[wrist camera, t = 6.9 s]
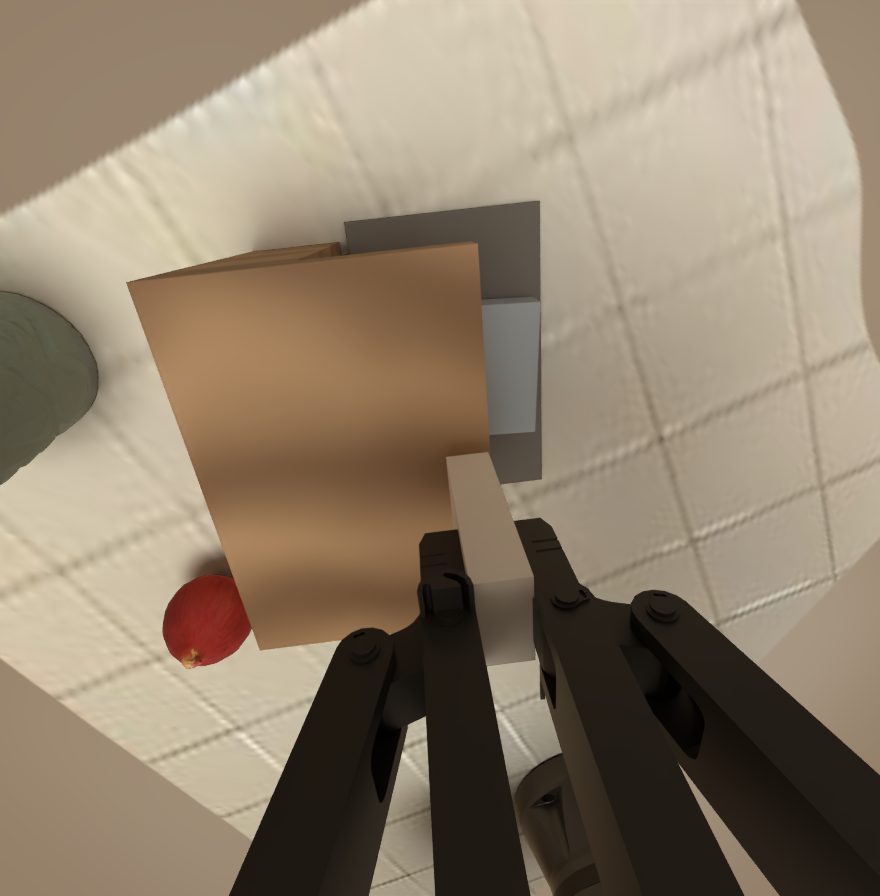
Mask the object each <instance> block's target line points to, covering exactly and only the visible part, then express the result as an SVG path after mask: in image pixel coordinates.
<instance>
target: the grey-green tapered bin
mask: <svg viewBox="0 0 880 896" xmlns="http://www.w3.org/2000/svg"><path fill="white" fill-rule="evenodd" d="M97 389H98V372H97V365H96V361H95V359H94V357H93V355H92V353H91V351H90V349H89V347H88V345H87V344H86V342H85V341H84V340H83V336H82V335H81V334H80V333H79V332H78V331H77V330H75V329H74V328H73V327H72V325H71V323H69V322H67V321H66V320H65V319H64V318H63V317H62V316H61V315H59V314H57V313H56V312H55V311H53V310H51V309H49V308H48V307H46V306H45V305H43V304H41V303H38V302H35V301H33V300H32V299H30V298H27V297H23V296H22V295H17V294H14V293H8V292H1V291H0V485H1V484H3V483H4V482H6V481H7V480H9V479H10V478H11V477H12V476H13V475H14V474H15V473H16V472H17V471H18V469H19V468H20V467H23V466H26V465H27V464H28V463H30V462H31V461H32V460H33V459H34V458H35V457H36V455H38V454H39V453H40V452H42V451H44V450H45V449H46V448H47V447H48V446H49V445H50V444H51V443H52V442H53V440H54V439H55V436H57V435H59V434H61V433H63V432H65V431H66V430H67V429H69V428H70V427H71V426H72V425H73V424H74V423H76V422H77V421H78V420H79V419H80V418H81V417H83V416H84V414H85V413H86V412H87V411H88V410H89V408H90V407H91V405H92V403H93V401H94V399H95V397H96V394H97Z"/></svg>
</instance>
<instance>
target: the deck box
mask: <svg viewBox="0 0 880 896" xmlns="http://www.w3.org/2000/svg"><path fill="white" fill-rule="evenodd" d="M540 304H541V302H540V301H538V300H537V299H535V298H534V297H516V298H499V299H483V300H481V305H482V322H483V339H484V356H485V373H486V390H487V407H488V424H489V435H497V434H511V433H524V432H535V423H536V400H537V376H538V352H539V328H540Z"/></svg>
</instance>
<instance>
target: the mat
mask: <svg viewBox="0 0 880 896" xmlns="http://www.w3.org/2000/svg"><path fill="white" fill-rule="evenodd" d="M344 225H345V231H346V237H347V243H348V249H349V255H352V254H361V253H370V252H379V251H388V250H397V249H406V248H415V247H424V246H433V245H442V244H451V243H460V242H469V241H472V242H475V243H478V254H479V271H480V288H481V300H483V299H499V298H516V297H534V298H535V299H537V300H538V301H540V201H533V202H524V203H515V204H506V205H497V206H488V207H478V208H469V209H460V210H451V211H442V212H433V213H423V214H414V215H405V216H396V217H387V218H378V219H368V220H359V221H350V222H344ZM489 441H490V458H491V461H492V464H493V466H494V469H495V472H496V475H497V477H498V480H499V483H500V484H507V483H515V482H523V481H531V480H539V479H542V452H541V312H540V328H539V352H538V376H537V400H536V423H535V432H524V433H511V434H497V435H489Z"/></svg>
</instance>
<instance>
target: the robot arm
mask: <svg viewBox="0 0 880 896" xmlns="http://www.w3.org/2000/svg"><path fill="white" fill-rule="evenodd" d="M446 462H447V471H448V481H449V490H450V500H451V510H452V519H453V526H454V530H447V531H438V532H430V533H425V534H424V536H423V538H422V540H421V541H420V543H419V557H420V576H421V582H420V583H419V585H418V589H417V596H418V603H419V609H420V614H419V616H418V617H417V618H416V620H415V621H414V622H413V623H411V624H410V625H409V626H408V627H406V628H404V629H402V630H400V631H398V632H395V633H393V634H390V635H389V634H388V633H386V632H385V631H384V630H382V629H378V628H373V627H371V628H361V629H359V630H356V631H354V632H351V633H350V634H349V635H347V636H346V637H345V638H344V639H342V641H341V642H340V644H339V645H338V647H337V648H336V650H335V653H334V655H333V657H332V659H331V662H330V664H329V666H328V669H327V671H326V673H325V676H324V678H323V680H322V683H321V685H320V687H319V689H318V692H317V694H316V696H315V699H314V701H313V703H312V706H311V708H310V710H309V712H308V715H307V717H306V719H305V722H304V724H303V726H302V729H301V731H300V733H299V735H298V738H297V740H296V742H295V745H294V747H293V749H292V752H291V754H290V756H289V758H288V761H287V763H286V765H285V768H284V770H283V772H282V775H281V777H280V779H279V782H278V784H277V786H276V788H275V791H274V793H273V795H272V798H271V800H270V802H269V805H268V807H267V809H266V811H265V814H264V816H263V818H262V821H261V823H260V825H259V828H258V830H257V832H256V834H255V837H254V839H253V841H252V844H251V846H250V848H249V851H248V853H247V855H246V857H245V860H244V862H243V864H242V867H241V869H240V871H239V874H238V876H237V878H236V881H235V883H234V885H233V888H232V890H231V892H230V894H229V896H369V892H370V888H371V883H372V879H373V875H374V870H375V866H376V862H377V858H378V853H379V849H380V845H381V840H382V836H383V832H384V828H385V823H386V819H387V815H388V810H389V806H390V802H391V798H392V793H393V789H394V785H395V780H396V776H397V772H398V767H399V763H400V759H401V755H402V750H403V746H404V742H405V737H406V733H407V729H408V724H410V723H412V722H415V721H417V720H419V719H421V718H423V717H425V716H426V725H427V745H428V764H429V783H430V802H431V821H432V841H433V860H434V879H435V896H530V890H529V885H528V880H527V875H526V870H525V864H524V859H523V854H522V849H521V844H520V838H519V833H518V828H517V823H516V817H515V812H514V807H513V802H512V797H511V791H510V786H509V781H508V776H507V771H506V765H505V760H504V755H503V750H502V744H501V739H500V734H499V729H498V724H497V718H496V713H495V708H494V703H493V698H492V692H491V687H490V682H489V677H488V672H487V666H491V665H499V664H507V663H515V662H522V661H530V660H535V648H536V652H537V655H538V658H539V661H540V698H541V700H542V699H545V696H546V699H547V703H548V706H549V709H550V713H551V716H552V720H553V723H554V726H555V730H556V733H557V736H558V740H559V743H560V747H561V750H562V753H563V755H560V756H558V757H555V758H553V759H551V760H549V761H547V762H545V763H544V764H542V765H540V766H539V767H537V768H536V769H535V770H533V771H532V772H531V773H530V774H529V775H528V776H527V777H526V778H525V779H524V780H523V782H522V783H521V785H520V786H519V788H518V791H517V794H516V807H517V812H518V817H519V822H520V826H521V829H522V832H523V834H524V836H525V838H526V840H527V842H528V844H529V846H530V848H531V850H532V852H533V854H534V856H535V858H536V860H537V862H538V864H539V866H540V868H541V870H542V872H543V874H544V876H545V878H546V880H547V882H548V884H549V886H550V888H551V891H552V894H553V896H744V894H743V892H742V890H741V888H740V886H739V884H738V882H737V880H736V878H735V876H734V874H733V872H732V870H731V868H730V866H729V864H728V862H727V860H726V858H725V856H724V854H723V852H722V850H721V848H720V846H719V844H718V842H717V840H716V838H715V836H714V834H713V832H712V830H711V828H710V826H709V824H708V822H707V820H706V818H705V816H704V814H703V812H702V810H701V808H700V806H699V804H698V802H697V800H696V798H695V796H694V794H693V792H692V790H691V788H690V786H689V784H688V782H687V780H686V779H685V776H684V774H683V772H682V770H681V768H680V766H681V767H682V768H683V769H684V771H685V772H686V773H687V775H688V776H689V777H690V778H691V780H692V781H693V783H694V784H695V785H696V787H697V788H698V789H699V791H700V792H701V793H702V795H703V796H704V797H705V798H706V800H707V801H708V802H709V804H710V805H711V806H712V808H713V809H714V810H715V811H716V813H717V814H718V815H719V817H720V818H721V819H722V821H723V822H724V823H725V825H726V826H727V827H728V829H729V830H730V831H731V832H732V834H733V835H734V836H735V838H736V839H737V840H738V842H739V843H740V844H741V846H742V847H743V848H744V850H745V851H746V852H747V853H748V855H749V856H750V857H751V859H752V860H753V861H754V862H755V864H756V865H757V867H758V868H759V869H760V870H761V872H762V873H763V874H764V875H765V877H766V878H767V880H768V881H769V882H770V883H771V885H772V886H773V887H774V889H775V890H776V891H777V893H778V894H779V895H780V896H880V775H879V774H878V773H877V772H875V771H874V770H873V769H872V768H871V767H870V766H869V765H868V764H867V763H866V762H864V761H863V760H862V759H861V758H860V757H859V756H857V754H856V753H854V752H853V751H852V750H851V749H850V748H849V747H848V746H847V745H845V744H844V743H843V742H842V741H841V740H840V739H839V738H838V737H837V736H835V735H834V734H833V733H832V732H831V731H830V730H829V729H827V727H825V726H824V725H823V724H822V723H821V722H820V721H819V720H818V719H816V718H815V717H814V716H813V715H812V714H811V713H810V712H808V710H806V709H805V708H804V707H803V706H802V705H801V704H800V703H798V702H797V701H796V700H795V699H794V698H793V697H792V696H791V695H790V694H789V693H787V692H786V691H785V690H784V689H783V688H782V687H781V686H780V685H779V684H777V683H776V682H775V681H774V680H773V679H772V678H771V677H770V676H768V675H767V674H766V673H765V672H764V671H763V670H762V669H761V668H759V667H758V666H757V665H756V664H755V663H754V662H753V661H752V660H751V659H750V658H748V657H747V656H746V655H745V654H744V653H743V652H742V651H741V650H739V649H738V648H737V647H736V646H735V645H734V644H733V643H732V642H731V641H729V640H728V639H727V638H726V637H725V636H724V635H723V634H722V633H721V632H719V631H718V630H717V629H716V628H715V627H714V626H713V625H712V624H710V623H709V622H708V621H707V620H706V619H705V618H704V617H703V616H702V615H700V614H699V613H698V612H697V611H696V610H695V609H694V608H693V607H692V606H690V605H689V604H688V603H687V602H686V601H684V600H683V599H681V598H680V597H678V596H677V595H674V594H672V593H669V592H666V591H659V590H649V591H643V592H641V593H639V594H638V595H636V596H635V597H634V599H633V601H632V602H631V604H624V603H615V602H609V601H604V600H601V599H599V598H596V597H594V595H593V594H592V593H591V592H590V590H589V589H588V588H586V587H584V586H583V585H581V584H579V582H578V580H577V578H576V576H575V574H574V572H573V570H572V568H571V566H570V564H569V561H568V559H567V557H566V555H565V553H564V551H563V550H562V547H561V545H560V543H559V541H558V540H557V537H556V534H555V532H554V530H553V528H552V527H551V526H550V525H549V524H548V523H546V522H545V521H544V520H542V519H541V518H535V519H526V520H518V521H513V518H512V516H511V513H510V510H509V507H508V505H507V502H506V499H505V496H504V494H503V491H502V488H501V486H500V483H499V480H498V477H497V475H496V472H495V469H494V466H493V464H492V461H491V458H490V456H489V453H488V452H483V453H475V454H467V455H459V456H450V457H446ZM678 763H679V764H680V766H679V764H678Z"/></svg>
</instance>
